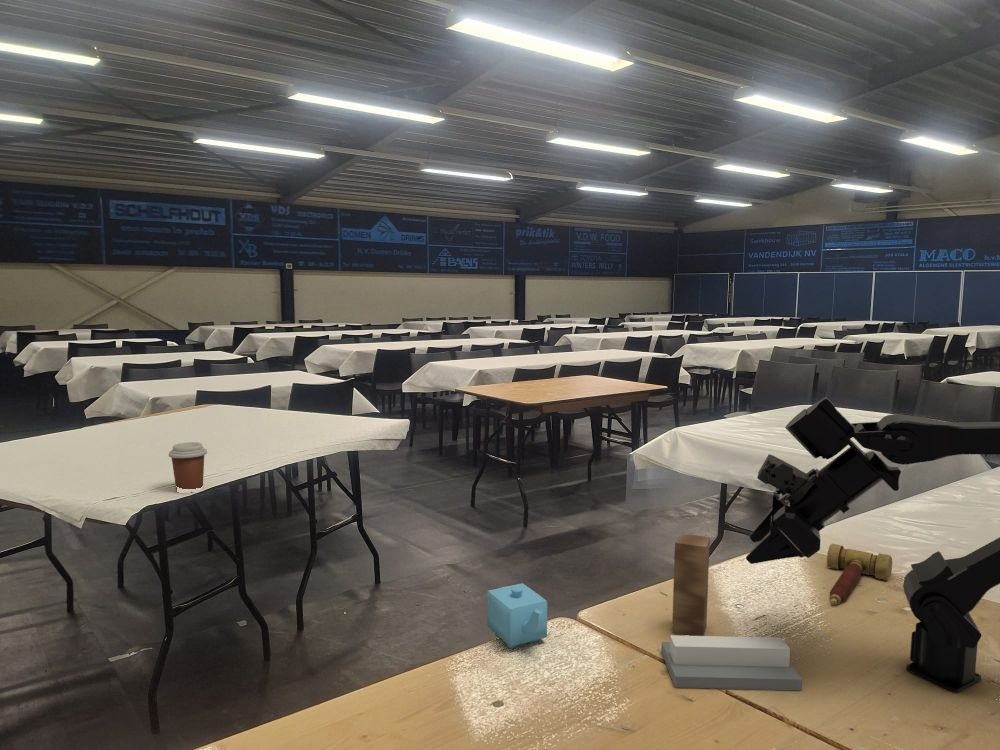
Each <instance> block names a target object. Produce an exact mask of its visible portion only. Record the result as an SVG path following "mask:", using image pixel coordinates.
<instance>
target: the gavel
mask: <svg viewBox="0 0 1000 750" xmlns="http://www.w3.org/2000/svg"><path fill="white" fill-rule="evenodd" d="M826 565H827V567H830V568H829V569H832V570H838V571H839V570H841V569H843V571H842V573H841V575H840V576H839V577H838V579H837V580H836V582H835V583H834V584H833V587H832V588H831V589H830V591H829V596H830V598H829V599H830V604H831V605H833V606H836V605H840V604H841V602H842V603H844V602H845V601H846V599H847V598H848V597H849V595H850V593H851V592H852V590H853V589H854V587H855V585H856V584H857V582H858V580H859V578H860V577H861V575H865V574H866V575H865V576H874V578H875V579H877V578H878V579H877V580H881V579H883V580H882V581H885V580H888V581H890V579H891V576H892V570H893V558H892V556H891V555H890V554H886V553H882V552H881V553H878V554H874V553H872V552H867V551H863V550H862V551H861V550H858V549H857V550H856V549H853V548H845V547H844V545H841V544H835V543H831V544H829V546H828V550H827V555H826ZM889 578H890V579H889Z"/></svg>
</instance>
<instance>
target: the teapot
mask: <svg viewBox="0 0 1000 750" xmlns="http://www.w3.org/2000/svg"><path fill="white" fill-rule="evenodd" d="M486 593H487V600H486V601H487V604H486V605H487V607H486V609H487V611H486V614H487V615H486V618H487V619H486V624H487V625H486V626H487V627H488V628H489V629H491V631H492V632H493V633H495V634H494V636H495V637H498V638H500V639H501V640H502V641H503V642H504V643H505V644H506V647H507V648H509V649H515V648H517V646H519V645H523V644H526V643H536V642H539V640H541V639H545V638H547V636H548V601H547V600H546V599H545V598H544V597H542V596H541V595H540V594H539V593H537V592H536V591H534V590H533V589H532V588H531V587H529V586H527V585H526V584H524V583H522V582H521V583H517V584H512V585H508V586H501V587H499V588H495V589H490V590H487V592H486Z"/></svg>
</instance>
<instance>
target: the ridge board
mask: <svg viewBox="0 0 1000 750" xmlns="http://www.w3.org/2000/svg"><path fill="white" fill-rule="evenodd" d="M669 636H670V637H669V641H661V651H660V652H661V654H662V658H663V660H664V663H665V665H666V667H667V671H668V673H669V675H670V677H671V681H672V684H673V685H674V688H675V689H676V688H677V689H678V688H681V689H715V690H716V689H720V690H723V689H724V690H754V691H755V690H756V691H758V690H759V691H760V690H761V691H762V690H765V691H798V690H799V692H800V691H802V688H803V687H802V685H803V679H802V677H801V676H800V675H799V673H798V672H797V670H796V669H795V668H794V667H793V665H792V663H791V662H790V660H791V659H790V657H791V648H790V647H789V646H788V644H787V643H786V641H785V640H784V639H783V637H771V636H770V637H768V636H767V637H766V636H765V637H763V636H721V635H720V636H719V635H718V636H716V635H712V636H710V635H704V636H684V635H677V634H672V635H669Z"/></svg>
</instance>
